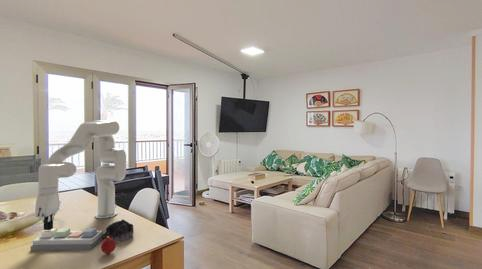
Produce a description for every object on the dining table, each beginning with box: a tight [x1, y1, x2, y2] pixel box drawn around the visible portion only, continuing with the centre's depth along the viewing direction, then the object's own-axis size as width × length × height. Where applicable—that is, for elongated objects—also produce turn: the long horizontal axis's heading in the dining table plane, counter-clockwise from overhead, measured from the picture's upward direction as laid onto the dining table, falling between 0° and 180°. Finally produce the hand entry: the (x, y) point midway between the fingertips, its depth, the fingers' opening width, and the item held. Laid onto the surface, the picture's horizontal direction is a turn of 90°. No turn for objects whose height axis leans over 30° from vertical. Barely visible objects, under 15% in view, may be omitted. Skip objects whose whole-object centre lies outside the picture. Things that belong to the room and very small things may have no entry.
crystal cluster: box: [103, 219, 134, 243], centre depth 127 cm, size 13×14×10 cm
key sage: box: [55, 227, 71, 237], centre depth 120 cm, size 4×4×2 cm
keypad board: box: [30, 229, 105, 252], centre depth 120 cm, size 13×26×4 cm, turn 93°
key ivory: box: [40, 228, 58, 238], centre depth 120 cm, size 4×4×2 cm
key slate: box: [82, 227, 98, 237], centre depth 121 cm, size 4×4×2 cm
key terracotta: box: [69, 232, 83, 238], centre depth 120 cm, size 4×4×2 cm
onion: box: [100, 236, 117, 255], centre depth 110 cm, size 6×6×8 cm
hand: (48, 229), depth 119 cm, fingers closed
